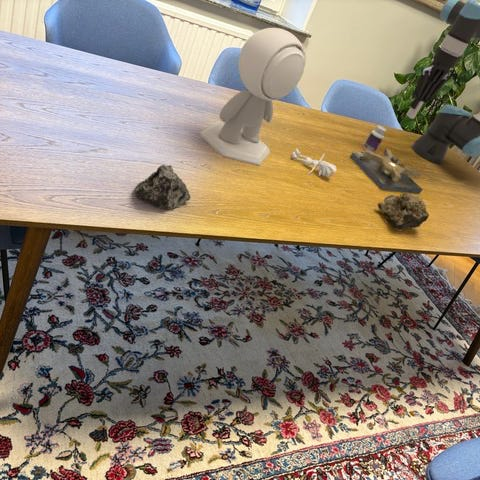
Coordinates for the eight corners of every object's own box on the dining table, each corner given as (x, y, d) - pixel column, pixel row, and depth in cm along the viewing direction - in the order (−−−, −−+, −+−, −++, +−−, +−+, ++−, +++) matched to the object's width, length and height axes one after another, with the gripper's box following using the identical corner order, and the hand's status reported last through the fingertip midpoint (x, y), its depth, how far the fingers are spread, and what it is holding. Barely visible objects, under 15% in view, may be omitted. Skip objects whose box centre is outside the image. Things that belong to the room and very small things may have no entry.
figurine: (303, 138, 147) (345, 157, 143) (300, 151, 151) (341, 169, 147) (286, 158, 140) (329, 178, 136) (283, 171, 144) (325, 191, 140)
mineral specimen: (365, 203, 139) (382, 177, 134) (393, 206, 146) (411, 181, 140) (392, 234, 130) (411, 207, 124) (421, 236, 136) (441, 210, 131)
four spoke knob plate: (358, 145, 170) (364, 134, 167) (409, 167, 173) (416, 157, 170) (364, 171, 152) (371, 159, 149) (421, 195, 155) (429, 184, 152)
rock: (155, 227, 95) (193, 199, 94) (126, 190, 93) (163, 161, 92) (164, 217, 108) (197, 192, 107) (138, 184, 106) (172, 158, 105)
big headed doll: (234, 168, 125) (287, 43, 105) (188, 124, 136) (228, 4, 116) (281, 163, 139) (335, 52, 119) (235, 124, 149) (278, 16, 130)
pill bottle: (375, 154, 178) (388, 133, 172) (362, 149, 177) (375, 127, 172) (374, 149, 182) (387, 128, 176) (362, 144, 182) (375, 122, 176)
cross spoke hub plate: (387, 162, 175) (391, 155, 174) (419, 193, 163) (425, 186, 161) (349, 157, 165) (354, 149, 163) (381, 189, 152) (386, 181, 150)
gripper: (454, 51, 153) (415, 114, 167) (429, 43, 147) (390, 109, 160) (469, 60, 148) (428, 124, 162) (445, 52, 142) (404, 119, 156)
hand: (409, 116), depth 161 cm, fingers closed
